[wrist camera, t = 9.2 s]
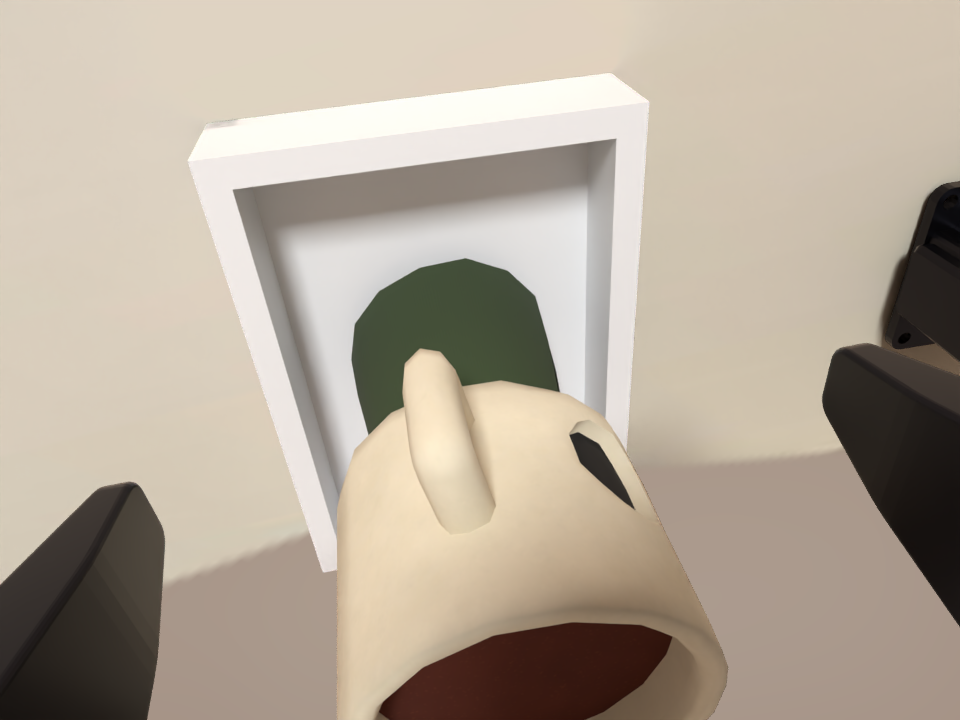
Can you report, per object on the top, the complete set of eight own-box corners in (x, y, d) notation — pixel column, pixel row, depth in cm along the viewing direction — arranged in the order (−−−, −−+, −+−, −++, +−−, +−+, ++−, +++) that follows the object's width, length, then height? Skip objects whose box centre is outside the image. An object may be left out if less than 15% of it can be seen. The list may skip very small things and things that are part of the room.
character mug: (580, 420, 26) (744, 791, 16) (400, 478, 26) (441, 884, 16) (511, 144, 20) (710, 462, 9) (272, 224, 20) (199, 626, 9)
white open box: (610, 72, 20) (649, 101, 17) (597, 462, 28) (622, 517, 26) (207, 122, 19) (187, 161, 16) (324, 510, 27) (322, 572, 25)
